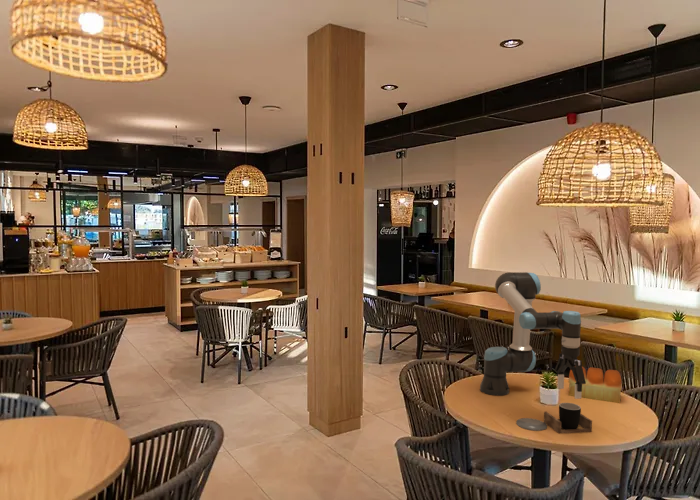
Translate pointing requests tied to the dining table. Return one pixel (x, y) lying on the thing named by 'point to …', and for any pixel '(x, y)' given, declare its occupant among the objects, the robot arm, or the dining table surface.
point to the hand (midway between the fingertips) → (568, 393)
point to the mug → (569, 415)
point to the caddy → (556, 425)
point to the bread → (598, 385)
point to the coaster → (531, 424)
